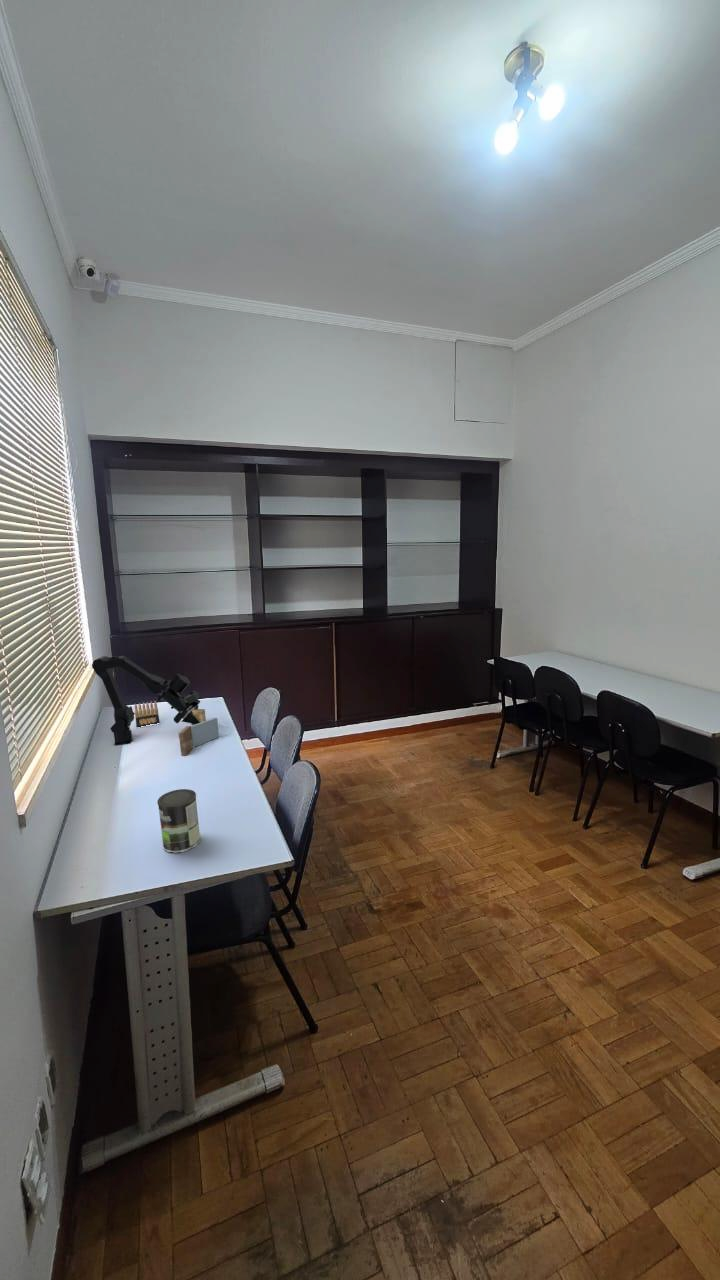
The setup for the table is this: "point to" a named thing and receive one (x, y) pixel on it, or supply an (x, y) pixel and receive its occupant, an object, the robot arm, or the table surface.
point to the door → (204, 731)
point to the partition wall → (186, 740)
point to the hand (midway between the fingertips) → (201, 723)
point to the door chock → (199, 715)
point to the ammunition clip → (146, 714)
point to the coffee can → (179, 820)
